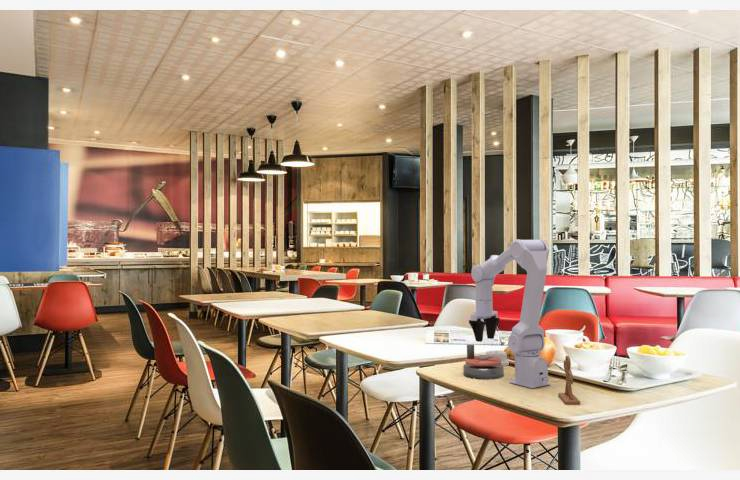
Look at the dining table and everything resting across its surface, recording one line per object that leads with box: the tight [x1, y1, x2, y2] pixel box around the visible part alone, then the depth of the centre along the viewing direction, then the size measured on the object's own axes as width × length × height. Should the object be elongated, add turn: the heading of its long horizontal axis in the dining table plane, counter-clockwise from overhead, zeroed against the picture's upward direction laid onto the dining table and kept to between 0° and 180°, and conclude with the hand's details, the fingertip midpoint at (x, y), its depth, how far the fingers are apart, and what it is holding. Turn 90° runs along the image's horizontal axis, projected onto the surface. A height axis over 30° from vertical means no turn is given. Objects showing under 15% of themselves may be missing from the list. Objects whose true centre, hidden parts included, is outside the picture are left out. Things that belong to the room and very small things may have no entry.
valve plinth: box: [462, 363, 505, 380], centre depth 184 cm, size 13×13×3 cm
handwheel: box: [464, 344, 501, 366], centre depth 184 cm, size 12×12×6 cm
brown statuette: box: [557, 355, 581, 406], centre depth 150 cm, size 9×4×12 cm, turn 173°
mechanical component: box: [485, 350, 510, 367], centre depth 202 cm, size 10×4×10 cm
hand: (484, 340), depth 190 cm, fingers open, 7 cm apart
